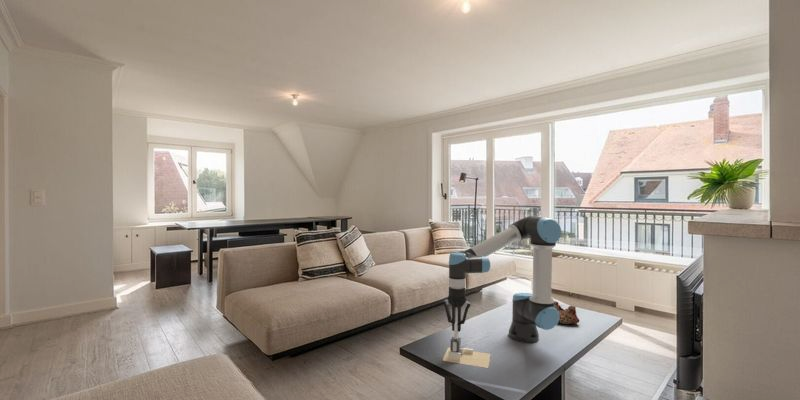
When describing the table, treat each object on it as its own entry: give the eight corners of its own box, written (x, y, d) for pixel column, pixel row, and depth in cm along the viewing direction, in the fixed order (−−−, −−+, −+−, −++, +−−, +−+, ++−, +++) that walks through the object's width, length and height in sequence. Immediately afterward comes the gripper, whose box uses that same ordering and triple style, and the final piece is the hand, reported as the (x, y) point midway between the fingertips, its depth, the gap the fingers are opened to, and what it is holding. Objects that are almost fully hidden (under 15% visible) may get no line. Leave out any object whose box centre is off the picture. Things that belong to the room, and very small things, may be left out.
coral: (540, 303, 219) (561, 296, 221) (547, 324, 217) (569, 316, 219) (554, 307, 201) (577, 299, 203) (563, 330, 199) (586, 321, 201)
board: (490, 356, 162) (490, 347, 162) (488, 370, 149) (488, 360, 149) (448, 349, 168) (448, 340, 168) (442, 362, 155) (442, 353, 155)
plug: (460, 355, 160) (460, 337, 160) (458, 359, 156) (459, 342, 156) (451, 353, 162) (452, 336, 161) (449, 358, 157) (450, 340, 157)
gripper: (472, 286, 160) (471, 336, 161) (444, 283, 164) (443, 332, 165) (470, 290, 153) (469, 343, 153) (441, 287, 157) (440, 339, 158)
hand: (456, 337), depth 159 cm, fingers closed
